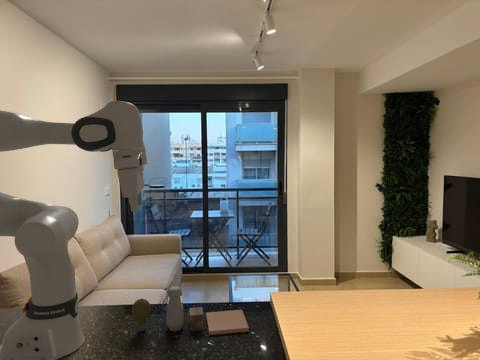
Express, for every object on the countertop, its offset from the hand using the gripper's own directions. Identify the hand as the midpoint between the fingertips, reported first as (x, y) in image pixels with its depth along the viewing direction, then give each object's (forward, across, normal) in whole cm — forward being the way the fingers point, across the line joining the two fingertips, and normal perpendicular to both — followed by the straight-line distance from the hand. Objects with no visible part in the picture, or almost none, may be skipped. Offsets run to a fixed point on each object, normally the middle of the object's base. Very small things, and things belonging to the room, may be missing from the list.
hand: (137, 208), depth 102 cm
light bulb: (+39, -4, -4) cm, 39 cm away
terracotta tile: (+41, -4, +22) cm, 47 cm away
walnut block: (+40, -4, +12) cm, 42 cm away
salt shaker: (+40, -4, +6) cm, 40 cm away
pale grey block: (+40, -14, +6) cm, 42 cm away
